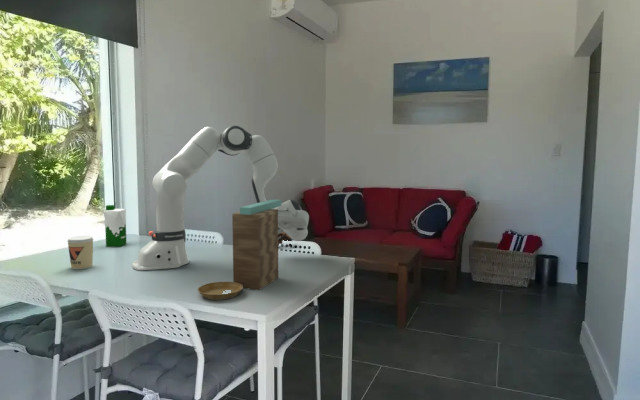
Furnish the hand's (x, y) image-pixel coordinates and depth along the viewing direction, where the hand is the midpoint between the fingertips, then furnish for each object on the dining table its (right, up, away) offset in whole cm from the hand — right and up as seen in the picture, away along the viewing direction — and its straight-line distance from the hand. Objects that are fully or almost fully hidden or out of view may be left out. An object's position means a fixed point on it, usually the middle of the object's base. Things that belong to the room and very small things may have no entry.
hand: (277, 208), depth 185 cm
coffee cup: (-80, -24, +6) cm, 84 cm away
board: (-4, 0, -13) cm, 14 cm away
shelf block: (-6, -27, -15) cm, 31 cm away
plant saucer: (-16, -29, -29) cm, 44 cm away
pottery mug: (-1, -20, +47) cm, 51 cm away
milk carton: (-84, -20, +48) cm, 99 cm away
